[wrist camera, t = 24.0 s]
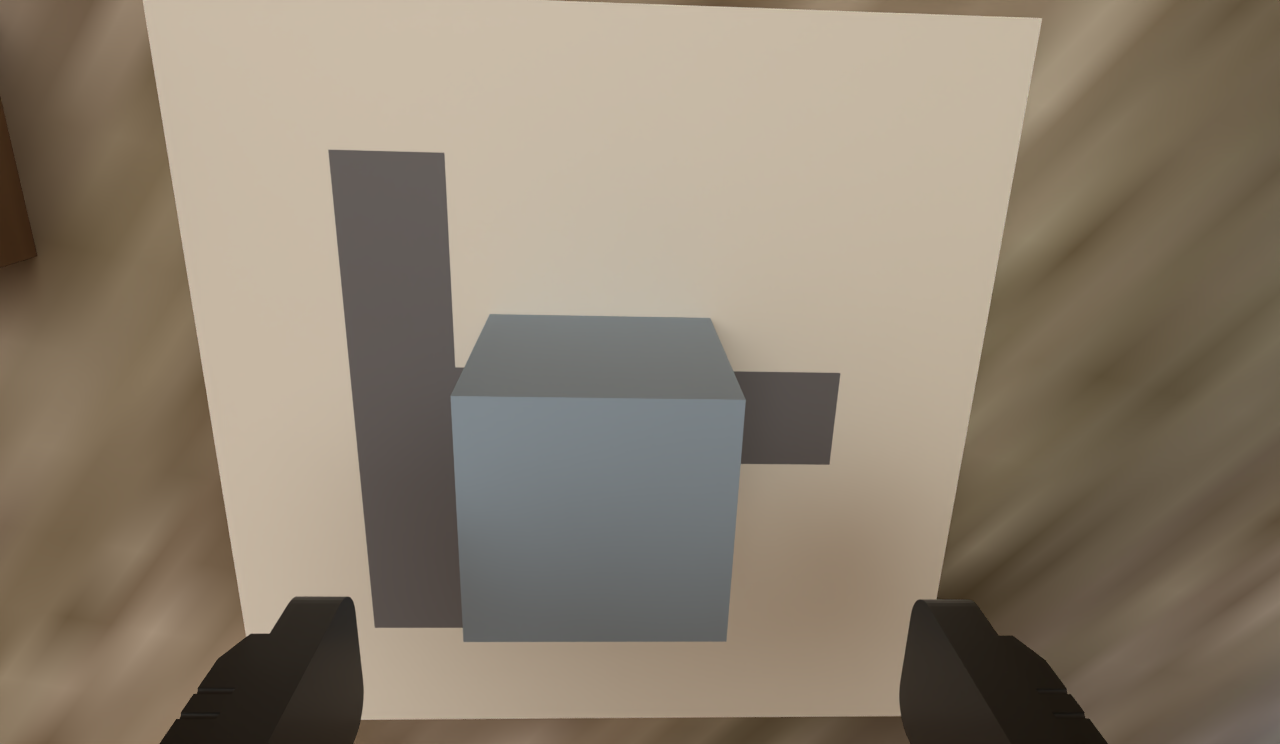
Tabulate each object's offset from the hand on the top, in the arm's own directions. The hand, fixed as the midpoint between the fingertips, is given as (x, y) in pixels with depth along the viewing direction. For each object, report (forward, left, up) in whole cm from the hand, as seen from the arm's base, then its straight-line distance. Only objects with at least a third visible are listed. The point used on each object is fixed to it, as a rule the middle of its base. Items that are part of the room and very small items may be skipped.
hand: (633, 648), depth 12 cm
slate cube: (+1, 0, -8) cm, 8 cm away
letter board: (+1, 0, -9) cm, 9 cm away
